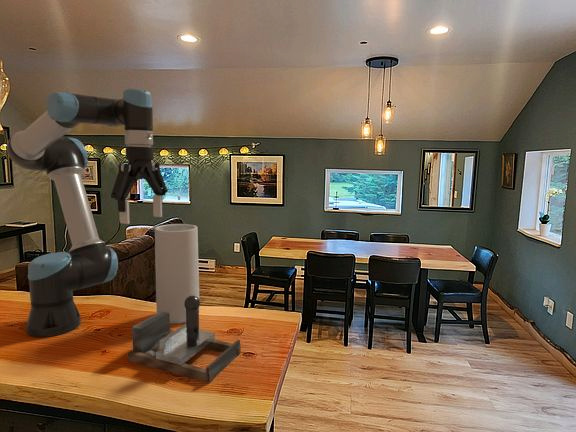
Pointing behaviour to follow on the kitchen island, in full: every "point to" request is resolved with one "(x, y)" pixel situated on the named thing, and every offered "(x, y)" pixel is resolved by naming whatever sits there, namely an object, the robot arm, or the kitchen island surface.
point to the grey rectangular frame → (145, 340)
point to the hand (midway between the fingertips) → (142, 219)
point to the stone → (156, 346)
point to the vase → (176, 268)
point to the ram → (185, 337)
